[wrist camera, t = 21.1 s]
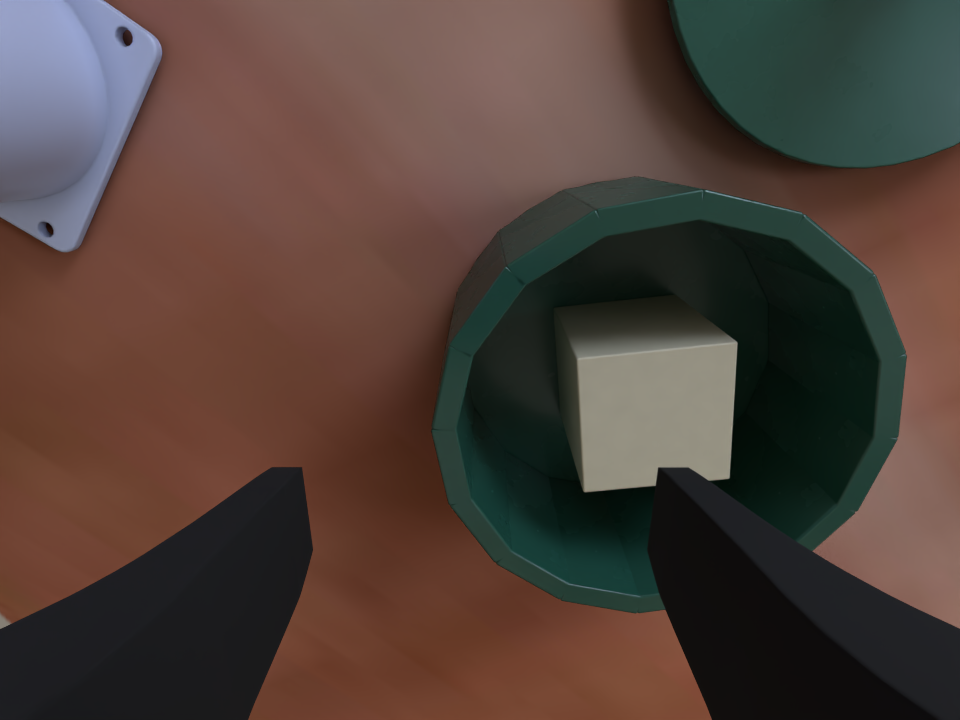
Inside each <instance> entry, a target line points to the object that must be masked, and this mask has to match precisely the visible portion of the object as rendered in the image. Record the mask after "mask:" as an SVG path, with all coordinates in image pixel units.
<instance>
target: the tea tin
mask: <svg viewBox="0 0 960 720" xmlns="http://www.w3.org/2000/svg"><path fill="white" fill-rule="evenodd" d="M666 295H676V296H678V297H679V298H680V299H682V300H683V301H684V302H686V303H687V304H688V305H689V306H691V307H692V308H693V309H695V310H696V311H697V312H699V313H700V314H701V315H703V316H704V317H705V318H706V319H708V320H709V321H710V322H712V323H713V324H714V325H716V326H717V327H718V328H720V329H721V330H722V331H723V332H725V333H726V334H727V335H729V336H730V337H731V338H733V339H734V340H735V341H737V360H736V377H735V394H734V411H733V428H732V445H731V462H730V478H729V479H723V480H712V481H710V482H711V483H713V484H714V485H716V486H717V487H718V488H720V489H721V490H722V491H724V492H725V493H727V494H728V495H729V496H731V497H732V498H734V499H735V500H736V501H738V502H739V503H741V504H742V505H743V506H745V507H746V508H748V509H749V510H750V511H752V512H753V513H755V514H756V515H758V516H759V517H760V518H762V519H763V520H765V521H766V522H768V523H769V524H771V525H772V526H774V527H775V528H776V529H778V530H780V531H781V532H783V533H784V534H786V535H787V536H789V537H790V538H792V539H793V540H795V541H796V542H798V543H799V544H801V545H803V546H804V547H806V548H807V549H809V550H811V551H813V550H814V549H815V548H816V547H818V546H819V545H820V544H821V543H822V542H823V541H824V540H826V539H827V538H828V537H829V536H830V535H831V534H832V533H833V532H835V531H836V530H837V529H838V528H839V527H840V526H841V525H842V524H844V523H845V522H846V521H847V520H848V519H849V518H850V517H851V516H853V515H854V514H855V512H856V511H858V509H859V508H860V506H861V504H862V502H863V501H864V499H865V497H866V495H867V493H868V492H869V490H870V488H871V486H872V484H873V483H874V481H875V479H876V477H877V475H878V474H879V472H880V470H881V468H882V466H883V465H884V463H885V461H886V459H887V457H888V456H889V454H890V452H891V450H892V448H893V447H894V445H895V443H896V441H897V437H898V435H899V425H900V416H901V406H902V397H903V387H904V378H905V368H906V359H907V355H906V354H905V353H906V351H905V349H904V346H903V343H902V341H901V338H900V336H899V333H898V331H897V328H896V325H895V323H894V320H893V318H892V315H891V313H890V310H889V307H888V305H887V302H886V300H885V297H884V295H883V292H882V289H881V287H880V284H879V282H878V279H877V276H876V275H875V274H874V273H873V271H872V270H871V269H870V268H869V267H867V266H866V265H865V264H864V263H863V262H861V261H860V260H859V259H858V258H857V257H855V256H854V255H853V254H852V253H851V252H850V251H848V250H847V249H846V248H845V247H844V246H842V245H841V244H840V243H839V242H838V241H836V240H835V239H834V238H833V237H832V236H830V235H829V234H828V233H827V232H826V231H824V230H823V229H822V228H821V227H820V226H819V225H817V224H816V223H815V222H814V221H813V220H811V219H810V218H809V217H808V216H807V215H805V214H803V213H802V212H798V211H794V210H790V209H786V208H782V207H777V206H773V205H769V204H765V203H760V202H756V201H752V200H748V199H743V198H739V197H735V196H731V195H726V194H722V193H718V192H714V191H709V190H705V189H700V188H695V187H690V186H685V185H679V184H674V183H669V182H664V181H659V180H654V179H649V178H644V177H629V178H624V179H619V180H612V181H604V182H596V183H592V184H588V185H584V186H580V187H575V188H570V189H565V190H562V191H560V192H558V193H556V194H555V195H553V196H552V197H550V198H548V199H547V200H545V201H543V202H541V203H539V204H538V205H536V206H534V207H532V208H530V209H529V210H527V211H526V212H525V213H523V214H522V215H521V216H519V217H518V218H516V219H515V220H514V221H512V222H511V223H510V224H508V225H507V226H505V227H504V228H502V229H501V230H500V231H499V232H497V233H496V235H495V236H494V238H493V239H492V241H491V242H490V244H489V245H488V246H487V247H486V249H485V250H484V251H483V252H482V254H481V255H480V256H479V257H478V259H477V260H476V262H475V264H474V265H473V267H472V269H471V270H470V272H469V274H468V275H467V277H466V278H465V279H464V281H463V282H462V284H461V285H460V287H459V288H458V291H457V294H456V299H455V303H454V308H453V313H452V318H451V323H450V327H449V332H448V337H447V342H446V347H445V351H444V357H443V363H442V368H441V374H440V380H439V386H438V391H437V397H436V403H435V409H434V414H433V420H432V429H431V432H432V437H433V441H434V445H435V449H436V453H437V458H438V462H439V466H440V470H441V474H442V479H443V483H444V487H445V491H446V496H447V500H448V504H449V505H450V506H451V508H452V509H453V510H454V512H455V513H456V514H457V515H458V517H459V518H460V519H461V521H462V522H463V523H464V524H465V526H466V527H467V528H468V529H469V531H470V532H471V533H472V534H473V536H474V537H475V538H476V540H477V541H478V542H479V543H480V545H481V546H482V547H483V548H484V550H485V551H486V552H487V554H488V555H489V556H490V557H491V559H492V560H493V561H494V562H496V564H497V565H499V566H501V567H502V568H504V569H506V570H508V571H510V572H511V573H513V574H515V575H517V576H518V577H520V578H522V579H524V580H526V581H527V582H529V583H531V584H533V585H535V586H536V587H538V588H540V589H542V590H543V591H545V592H547V593H549V594H551V595H552V596H554V597H556V598H558V599H561V600H562V601H566V602H572V603H578V604H584V605H589V606H595V607H601V608H607V609H613V610H618V611H624V612H630V613H644V612H652V611H659V610H666V609H665V607H664V605H663V602H662V600H661V597H660V594H659V591H658V588H657V584H656V581H655V577H654V574H653V570H652V566H651V563H650V559H649V555H648V551H647V546H648V539H649V531H650V524H651V516H652V509H653V502H654V494H655V487H656V486H648V487H637V488H626V489H615V490H605V491H594V492H583V489H582V486H581V483H580V479H579V476H578V472H577V469H576V466H575V462H574V459H573V456H572V452H571V449H570V445H569V442H568V439H567V435H566V432H565V429H564V425H563V422H562V418H561V415H560V401H559V386H558V371H557V356H556V341H555V326H554V310H553V309H554V308H555V307H564V306H573V305H582V304H592V303H601V302H610V301H620V300H629V299H638V298H648V297H657V296H666Z"/></svg>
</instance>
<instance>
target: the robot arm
mask: <svg viewBox="0 0 960 720" xmlns="http://www.w3.org/2000/svg"><path fill="white" fill-rule="evenodd" d="M126 30H129V31H130V32H131V34H132V37H133V41H132V44H131V45H130V46H127V45H126V44H125V43H124V40H123V33H124V32H125V31H126ZM161 57H162V48H161V45H160V43H159V41H158V39H157V38H156V37H155V36H154V35H153V34H151V33H150V32H148V31H147V30H145V29H144V28H143V27H141V26H140V25H138V24H137V23H135V22H134V21H132V20H131V19H130V18H128V17H127V16H125V15H124V14H122V13H121V12H120V11H118V10H117V9H115V8H114V7H112V6H111V5H109V4H108V3H107V2H105V1H104V0H0V217H1V218H3V219H4V220H6V221H8V222H9V223H11V224H13V225H15V226H16V227H18V228H20V229H21V230H23V231H25V232H26V233H28V234H30V235H32V236H33V237H35V238H37V239H38V240H40V241H42V242H43V243H45V244H47V245H49V246H50V247H52V248H54V249H55V250H58V251H60V252H70V251H74V250H76V249H78V248H79V247H80V245H81V243H82V241H83V239H84V236H85V234H86V232H87V229H88V227H89V225H90V223H91V220H92V218H93V216H94V213H95V211H96V209H97V206H98V204H99V202H100V199H101V197H102V195H103V193H104V190H105V188H106V186H107V183H108V181H109V179H110V176H111V174H112V172H113V169H114V167H115V165H116V162H117V160H118V158H119V156H120V153H121V151H122V149H123V146H124V144H125V142H126V139H127V137H128V135H129V132H130V130H131V128H132V126H133V123H134V121H135V119H136V116H137V114H138V112H139V109H140V107H141V105H142V102H143V100H144V98H145V95H146V93H147V91H148V89H149V86H150V84H151V82H152V79H153V77H154V75H155V72H156V70H157V68H158V65H159V63H160V61H161ZM46 223H49V224H50V225H51V226H52V228H53V230H54V232H53V235H52V234H50V233H49V232H48V230H47V228H46ZM312 551H313V546H312V539H311V531H310V524H309V516H308V509H307V502H306V494H305V487H304V479H303V472H302V467H272V468H270V469H268V470H267V471H265V472H264V473H262V474H261V475H259V476H258V477H256V478H255V479H253V480H252V481H250V482H249V483H248V484H246V485H245V486H243V487H242V488H241V489H239V490H238V491H236V492H235V493H234V494H232V495H231V496H230V497H228V498H227V499H225V500H224V501H223V502H221V503H220V504H218V505H217V506H215V507H214V508H213V509H211V510H210V511H208V512H207V513H206V514H204V515H203V516H201V517H200V518H198V519H197V520H196V521H194V522H193V523H191V524H190V525H188V526H187V527H185V528H184V529H182V530H181V531H179V532H177V533H176V534H174V535H173V536H171V537H170V538H168V539H167V540H165V541H164V542H162V543H161V544H159V545H157V546H156V547H154V548H153V549H151V550H150V551H148V552H147V553H145V554H144V555H142V556H140V557H139V558H137V559H135V560H134V561H132V562H130V563H129V564H127V565H125V566H124V567H122V568H120V569H118V570H117V571H115V572H113V573H111V574H110V575H108V576H106V577H104V578H102V579H100V580H99V581H97V582H95V583H93V584H91V585H89V586H88V587H86V588H84V589H82V590H80V591H78V592H76V593H74V594H73V595H71V596H69V597H67V598H65V599H62V600H60V601H58V602H56V603H54V604H52V605H50V606H48V607H46V608H44V609H42V610H39V611H37V612H35V613H33V614H31V615H29V616H27V617H25V618H23V619H21V620H19V621H17V622H14V623H12V624H10V625H8V626H6V627H4V628H2V629H0V720H248V718H249V716H250V713H251V710H252V708H253V705H254V703H255V701H256V698H257V696H258V694H259V691H260V689H261V687H262V684H263V682H264V680H265V677H266V675H267V673H268V670H269V668H270V666H271V663H272V661H273V659H274V656H275V654H276V652H277V650H278V647H279V645H280V643H281V640H282V638H283V636H284V633H285V631H286V628H287V626H288V624H289V621H290V619H291V617H292V614H293V612H294V610H295V607H296V605H297V602H298V600H299V597H300V594H301V591H302V588H303V584H304V581H305V577H306V574H307V570H308V566H309V563H310V559H311V555H312ZM647 551H648V555H649V559H650V563H651V566H652V570H653V574H654V577H655V581H656V584H657V588H658V591H659V594H660V597H661V600H662V602H663V605H664V607H665V609H666V612H667V614H668V617H669V619H670V621H671V624H672V626H673V628H674V631H675V633H676V636H677V638H678V640H679V643H680V645H681V647H682V649H683V652H684V654H685V656H686V659H687V661H688V663H689V666H690V668H691V670H692V673H693V675H694V677H695V680H696V682H697V684H698V687H699V689H700V691H701V694H702V696H703V698H704V701H705V703H706V705H707V708H708V710H709V713H710V716H711V718H712V720H960V629H959V628H957V627H955V626H953V625H950V624H948V623H946V622H944V621H942V620H940V619H938V618H935V617H933V616H931V615H929V614H927V613H925V612H922V611H920V610H918V609H916V608H914V607H912V606H910V605H908V604H906V603H904V602H902V601H900V600H898V599H896V598H894V597H892V596H890V595H888V594H886V593H884V592H882V591H880V590H879V589H877V588H875V587H873V586H871V585H869V584H868V583H866V582H864V581H862V580H860V579H858V578H857V577H855V576H853V575H851V574H849V573H847V572H846V571H844V570H842V569H840V568H839V567H837V566H835V565H833V564H832V563H830V562H828V561H827V560H825V559H823V558H822V557H820V556H819V555H817V554H815V553H814V552H812V551H811V550H809V549H807V548H806V547H804V546H803V545H801V544H799V543H798V542H796V541H795V540H793V539H792V538H790V537H789V536H787V535H786V534H784V533H783V532H781V531H780V530H778V529H776V528H775V527H774V526H772V525H771V524H769V523H768V522H766V521H765V520H763V519H762V518H760V517H759V516H758V515H756V514H755V513H753V512H752V511H750V510H749V509H748V508H746V507H745V506H743V505H742V504H741V503H739V502H738V501H736V500H735V499H734V498H732V497H731V496H729V495H728V494H727V493H725V492H724V491H722V490H721V489H720V488H718V487H717V486H716V485H714V484H713V483H711V482H710V481H708V480H707V479H706V478H704V477H703V476H701V475H700V474H698V473H697V472H695V471H694V470H692V469H690V468H689V467H658V472H657V479H656V487H655V494H654V502H653V509H652V516H651V524H650V531H649V539H648V546H647Z"/></svg>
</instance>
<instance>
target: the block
mask: <svg viewBox="0 0 960 720" xmlns="http://www.w3.org/2000/svg"><path fill="white" fill-rule="evenodd" d="M553 310H554V326H555V341H556V356H557V371H558V386H559V401H560V415H561V418H562V422H563V425H564V429H565V432H566V435H567V439H568V442H569V445H570V449H571V452H572V456H573V459H574V462H575V466H576V469H577V472H578V476H579V479H580V483H581V486H582V489H583V492H594V491H605V490H615V489H626V488H637V487H648V486H656V479H657V472H658V467H689V468H690V469H692V470H694V471H695V472H697V473H698V474H700V475H701V476H703V477H704V478H706V479H707V480H708V481H712V480H723V479H729V478H730V462H731V445H732V428H733V411H734V394H735V377H736V360H737V341H735V340H734V339H733V338H731V337H730V336H729V335H727V334H726V333H725V332H723V331H722V330H721V329H720V328H718V327H717V326H716V325H714V324H713V323H712V322H710V321H709V320H708V319H706V318H705V317H704V316H703V315H701V314H700V313H699V312H697V311H696V310H695V309H693V308H692V307H691V306H689V305H688V304H687V303H686V302H684V301H683V300H682V299H680V298H679V297H678V296H676V295H666V296H657V297H648V298H638V299H629V300H620V301H610V302H601V303H592V304H582V305H573V306H564V307H555V308H554V309H553Z"/></svg>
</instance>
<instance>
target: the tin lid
mask: <svg viewBox="0 0 960 720" xmlns="http://www.w3.org/2000/svg"><path fill="white" fill-rule="evenodd" d="M667 3H668V7H669V11H670V16H671V20H672V24H673V28H674V32H675V35H676V37H677V40H678V43H679V46H680V48H681V51H682V54H683V56H684V59H685V61H686V63H687V65H688V67H689V69H690V71H691V72H692V74H693V76H694V78H695V80H696V82H697V84H698V85H699V87H700V88H701V90H702V91H703V92H704V94H705V95H706V96H707V98H708V99H709V101H710V102H711V103H712V105H713V106H714V107H715V109H716V110H717V111H718V112H719V113H720V114H721V115H722V116H723V117H724V118H725V119H726V120H727V121H728V122H729V123H730V124H731V125H732V126H733V127H734V128H736V129H737V130H738V131H740V132H741V133H743V134H744V135H745V136H747V137H748V138H749V139H751V140H752V141H754V142H755V143H757V144H759V145H760V146H762V147H764V148H766V149H768V150H770V151H772V152H774V153H776V154H778V155H781V156H784V157H787V158H790V159H793V160H796V161H799V162H802V163H806V164H812V165H819V166H825V167H831V168H873V167H881V166H890V165H896V164H900V163H904V162H908V161H912V160H916V159H920V158H924V157H926V156H929V155H932V154H934V153H937V152H940V151H942V150H945V149H948V148H950V147H953V146H954V145H956V144H958V143H960V0H667Z"/></svg>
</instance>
